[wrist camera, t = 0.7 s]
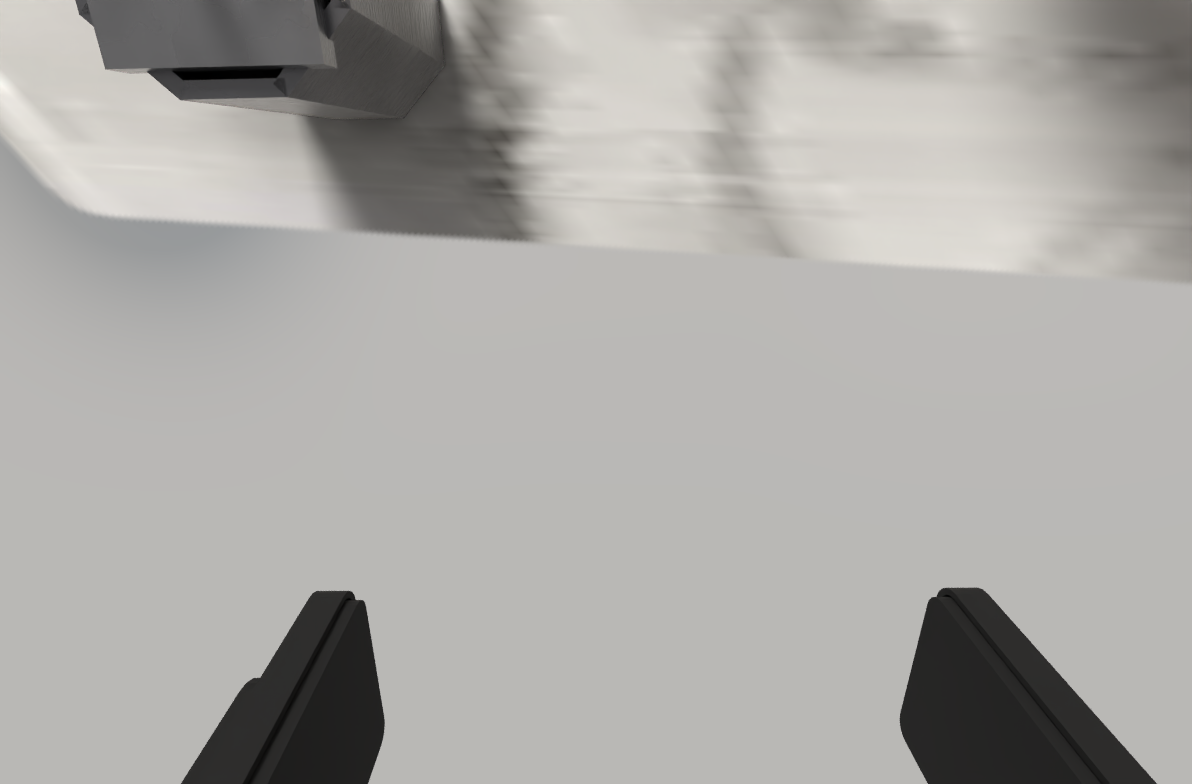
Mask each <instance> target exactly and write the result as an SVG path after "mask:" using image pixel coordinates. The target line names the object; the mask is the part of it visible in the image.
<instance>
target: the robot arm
mask: <svg viewBox="0 0 1192 784" xmlns="http://www.w3.org/2000/svg"><path fill="white" fill-rule="evenodd" d="M384 724H385V722H384V713H383V707H382V701H381V696H380V689H379V683H378V677H377V671H376V665H375V659H374V653H373V647H372V640H371V634H370V628H369V623H368V616H367V611H366V606H365V602H364V601H363V600H355V596H354V594H353V593H352V592H351V591H316V592H314V593H313V594H312V595H311V596H310V598H309V599H308V601H307V602H306V604H305V606H304V607H303V609H302V611H301V612H300V614H299V616H298V617H297V619H296V621H295V622H294V624H293V625H292V627H291V629H290V630H289V632H288V634H287V635H286V637H285V638H284V640H283V642H282V643H281V645H280V647H279V648H278V650H277V651H276V653H275V655H274V656H273V658H272V660H271V661H270V663H269V665H268V666H267V668H266V669H265V671H264V673H263V674H262V676H261V678H253V679H252V680H250V681H249V682H247V683H246V684H245V685H244V687H243V688H242V689H241V691H240V692H239V693H238V695H237V697H236V698H235V700H234V701H233V703H232V704H231V706H230V708H229V709H228V711H227V712H226V714H225V715H224V717H223V718H222V720H221V722H220V723H219V725H218V726H217V728H216V730H215V731H214V733H213V734H212V736H211V737H210V739H209V740H208V742H207V744H206V745H205V747H204V748H203V750H202V752H201V753H200V755H199V756H198V758H197V759H196V761H195V763H194V764H193V766H192V767H191V769H190V770H189V772H188V774H187V775H186V777H185V778H184V780H183V781H182V783H181V784H368V782H369V779H370V776H371V773H372V770H373V767H374V765H375V761H376V759H377V756H378V753H379V750H380V747H381V744H382V740H383V735H384ZM900 726H901V731H902V734H903V737H904V739H905V742H906V743H907V745H908V747H909V749H910V751H911V753H912V755H913V757H914V758H915V760H916V762H917V764H918V766H919V768H920V770H921V772H922V773H923V775H924V777H925V779H926V781H927V783H928V784H1156V782H1155V781H1154V780H1153V779H1152V778H1151V777H1150V776H1149V774H1148V773H1147V772H1146V771H1145V770H1144V769H1143V768H1142V767H1141V766H1140V764H1139V763H1138V762H1137V761H1136V760H1135V759H1134V758H1133V756H1132V755H1131V754H1130V753H1129V752H1128V751H1127V750H1126V749H1125V747H1124V746H1123V745H1122V744H1121V743H1120V742H1119V741H1118V740H1117V738H1115V736H1114V735H1113V734H1112V733H1111V732H1110V731H1109V730H1108V728H1107V727H1106V726H1105V725H1104V724H1103V723H1102V722H1101V721H1100V719H1099V718H1098V717H1097V716H1096V715H1095V714H1094V713H1093V712H1092V710H1091V709H1090V708H1089V707H1088V706H1087V705H1086V704H1085V703H1084V701H1083V700H1082V699H1081V698H1080V697H1079V696H1078V695H1077V694H1076V693H1075V691H1074V690H1073V689H1072V688H1071V687H1070V686H1069V685H1068V684H1067V682H1066V681H1065V680H1064V679H1063V678H1062V677H1061V676H1060V674H1059V673H1058V672H1057V671H1056V670H1055V669H1054V668H1053V667H1052V665H1051V664H1050V663H1049V662H1048V661H1047V660H1046V659H1045V658H1044V656H1043V655H1042V654H1041V653H1040V652H1039V651H1038V650H1037V649H1036V648H1035V646H1034V645H1033V644H1032V643H1031V642H1030V641H1029V640H1028V638H1027V637H1026V636H1025V635H1024V634H1023V633H1022V632H1021V631H1020V629H1019V628H1018V627H1017V626H1016V625H1015V624H1014V623H1013V622H1012V621H1011V620H1010V618H1009V617H1008V616H1007V615H1006V614H1005V613H1004V612H1003V610H1002V609H1001V608H1000V607H999V606H998V605H997V604H996V603H995V601H994V600H993V599H992V598H991V597H990V596H989V595H988V594H987V593H986V592H985V591H984V590H983V589H980V588H943V589H941V590H940V591H939V592H938V595H937V597H932V598H931V599H930V600H929V602H928V604H927V608H926V613H925V617H924V620H923V625H922V628H921V633H920V637H919V641H918V645H917V649H916V653H915V657H914V661H913V665H912V669H911V673H910V677H909V681H908V685H907V689H906V693H905V697H904V701H903V705H902V709H901V713H900Z"/></svg>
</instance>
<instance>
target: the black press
mask: <svg viewBox="0 0 1192 784" xmlns="http://www.w3.org/2000/svg"><path fill="white" fill-rule="evenodd" d="M76 4H77V8H78V11H79V15H81V16H82V17H83V18H84V19H85V20H87V21H88V22H89V23H90V24H91V25H92V26H94V29H95V33H96V36H97V40H98V44H99V47H100V51H101V55H102V58H103V62H104V66H105V69H107V70H112V71H118V72H124V73H149V74H150V75H151V76H153V77H154V78H155V79H156V80H157V81H159V82H160V83H161V84H162V85H163V86H164V87H166V88H167V89H168V90H169V91H170V92H171V93H173V94H174V95H175V96H176V97H177V98H179V99H180V100H185V101H193V102H201V103H209V104H217V105H225V106H233V107H241V108H249V109H257V110H265V111H273V112H281V113H289V114H297V115H305V116H313V117H321V118H329V119H337V120H341V119H381V118H404V117H405V116H406V114H407V113H408V112H409V111H410V109H411V108H412V107H413V105H414V104H415V103H416V102H417V100H418V99H419V98H420V96H421V95H422V94H423V93H424V91H425V90H426V89H427V87H428V86H429V85H430V84H431V82H432V81H433V80H434V78H435V77H436V76H437V75H438V73H439V72H440V71H441V69H442V68H443V67H444V66H445V62H444V52H443V42H442V32H441V22H440V12H439V2H438V0H331V2H330V3H329V4H327V0H76Z"/></svg>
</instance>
